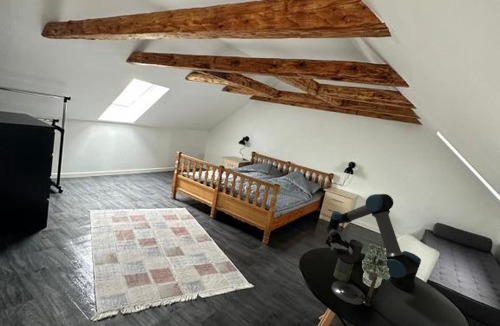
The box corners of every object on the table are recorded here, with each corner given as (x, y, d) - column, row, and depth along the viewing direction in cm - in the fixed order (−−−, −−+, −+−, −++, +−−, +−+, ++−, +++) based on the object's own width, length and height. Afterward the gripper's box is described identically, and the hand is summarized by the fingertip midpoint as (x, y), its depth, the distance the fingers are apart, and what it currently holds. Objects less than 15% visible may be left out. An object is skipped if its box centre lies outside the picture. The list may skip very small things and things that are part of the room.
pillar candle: (343, 254, 218) (348, 237, 214) (354, 255, 219) (360, 238, 216) (348, 261, 209) (354, 243, 205) (360, 263, 210) (366, 245, 206)
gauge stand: (368, 301, 166) (378, 273, 162) (371, 307, 162) (381, 278, 158) (360, 300, 166) (370, 271, 162) (363, 305, 162) (372, 276, 158)
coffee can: (331, 270, 192) (337, 252, 189) (346, 274, 191) (352, 255, 188) (334, 279, 182) (340, 260, 179) (350, 283, 181) (356, 264, 178)
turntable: (358, 285, 181) (358, 284, 181) (370, 307, 161) (370, 306, 161) (328, 279, 181) (328, 278, 181) (336, 300, 161) (336, 299, 161)
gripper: (349, 244, 216) (358, 259, 196) (317, 237, 217) (323, 251, 196) (352, 235, 215) (361, 250, 194) (320, 228, 215) (326, 242, 194)
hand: (342, 251), depth 195 cm, fingers open, 13 cm apart
